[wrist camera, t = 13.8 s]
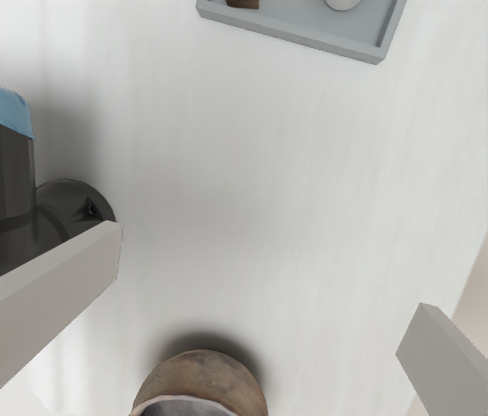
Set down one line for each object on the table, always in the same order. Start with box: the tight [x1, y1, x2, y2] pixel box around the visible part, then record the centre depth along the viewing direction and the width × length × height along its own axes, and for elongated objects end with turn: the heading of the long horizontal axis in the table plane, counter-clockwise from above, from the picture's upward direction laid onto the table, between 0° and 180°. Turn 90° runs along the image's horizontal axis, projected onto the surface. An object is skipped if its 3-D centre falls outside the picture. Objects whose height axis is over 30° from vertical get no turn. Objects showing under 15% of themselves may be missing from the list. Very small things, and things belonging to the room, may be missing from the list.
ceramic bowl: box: [129, 349, 268, 416], centre depth 46 cm, size 22×22×15 cm
